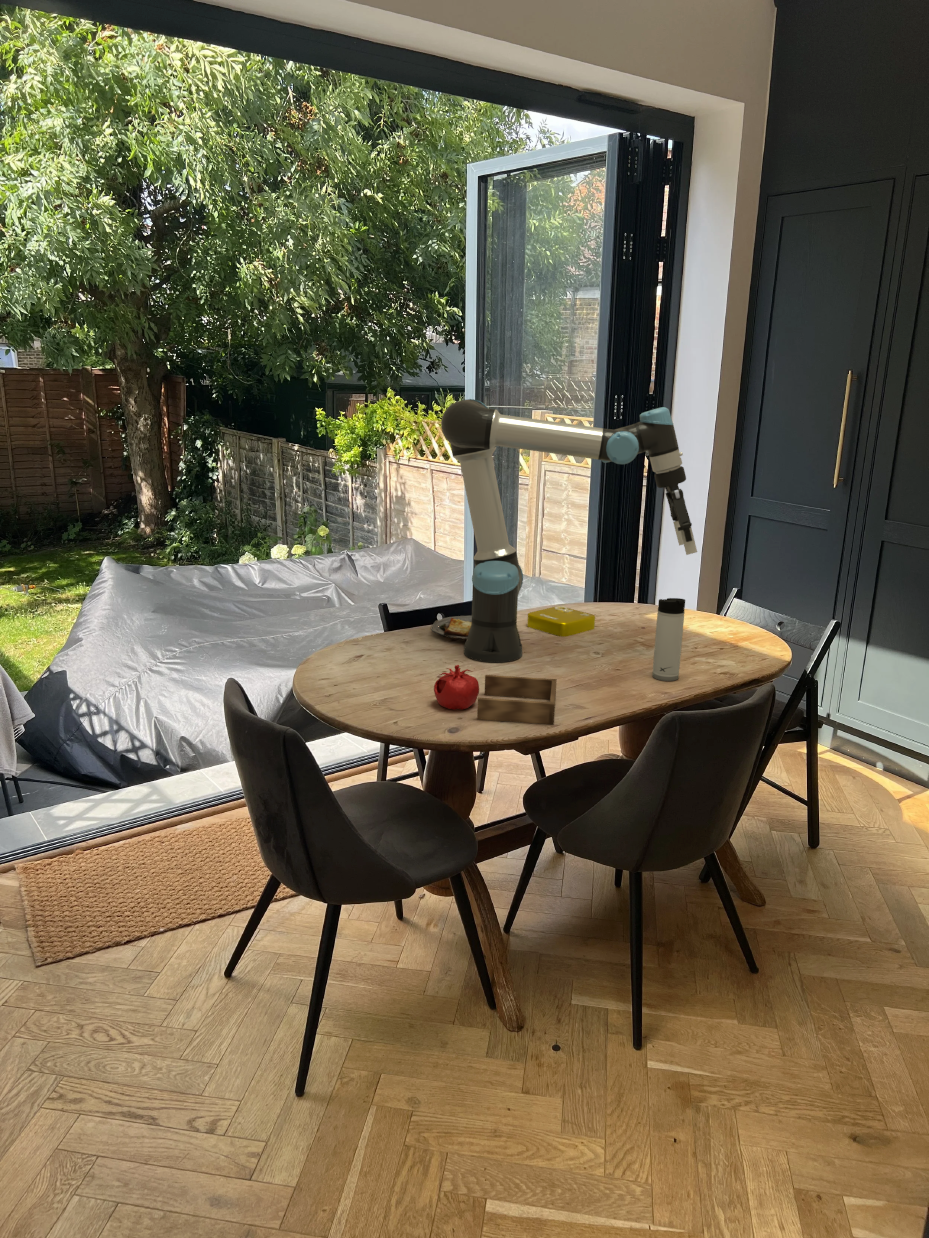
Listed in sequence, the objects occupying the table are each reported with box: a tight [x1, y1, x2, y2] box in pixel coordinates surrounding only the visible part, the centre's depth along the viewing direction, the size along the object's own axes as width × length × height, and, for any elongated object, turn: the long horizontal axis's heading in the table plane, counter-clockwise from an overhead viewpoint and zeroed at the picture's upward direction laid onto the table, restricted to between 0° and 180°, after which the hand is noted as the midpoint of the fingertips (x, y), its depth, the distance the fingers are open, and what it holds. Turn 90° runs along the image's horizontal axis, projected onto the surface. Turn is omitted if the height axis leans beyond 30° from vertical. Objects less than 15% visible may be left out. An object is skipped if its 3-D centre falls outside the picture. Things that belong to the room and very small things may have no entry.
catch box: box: [476, 674, 557, 725], centre depth 192 cm, size 16×16×4 cm
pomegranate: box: [433, 664, 480, 711], centre depth 193 cm, size 10×10×9 cm
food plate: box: [430, 615, 472, 640], centre depth 248 cm, size 25×23×4 cm
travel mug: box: [651, 597, 686, 682], centre depth 212 cm, size 6×7×20 cm
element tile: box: [526, 605, 596, 638], centre depth 256 cm, size 15×15×5 cm
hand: (687, 548), depth 230 cm, fingers open, 13 cm apart
